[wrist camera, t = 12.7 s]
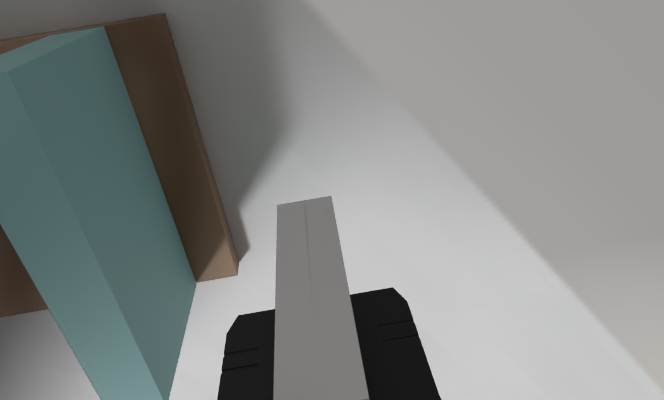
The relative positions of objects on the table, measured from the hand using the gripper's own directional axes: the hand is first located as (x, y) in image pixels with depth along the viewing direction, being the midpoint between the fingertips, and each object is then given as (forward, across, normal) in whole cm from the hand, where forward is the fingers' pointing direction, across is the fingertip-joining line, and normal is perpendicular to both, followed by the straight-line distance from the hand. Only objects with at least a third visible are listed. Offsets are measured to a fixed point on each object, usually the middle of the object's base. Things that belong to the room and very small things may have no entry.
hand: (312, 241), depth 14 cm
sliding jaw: (+7, -7, 0) cm, 10 cm away
